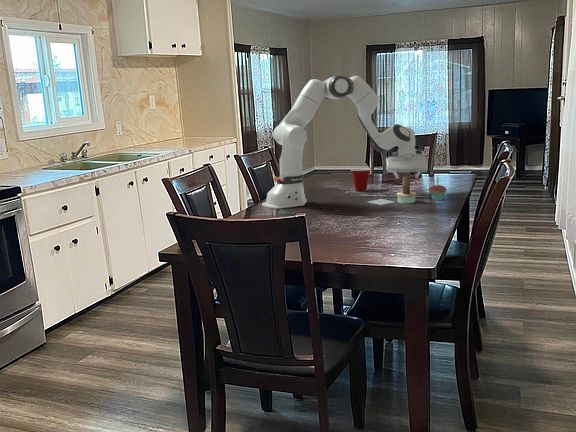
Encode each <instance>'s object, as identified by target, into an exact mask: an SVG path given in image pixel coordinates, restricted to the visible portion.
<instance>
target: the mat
mask: <svg viewBox="0 0 576 432" xmlns="http://www.w3.org/2000/svg"><path fill="white" fill-rule="evenodd" d="M367 203H370V204H375V205H379V206H383V205H387V204H392V203H396V201H394V200H389V199H384V198H378V199H374V200H369V201H367Z"/></svg>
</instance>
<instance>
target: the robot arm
mask: <svg viewBox="0 0 576 432" xmlns="http://www.w3.org/2000/svg"><path fill="white" fill-rule="evenodd" d="M345 97H348V98H349V99H350V100H351V101H352V103H353V104H354V105H355V107H356V108H357V111H358V112H357V117H358V120H359V122H360V123H361V125H362V127H363V129H364V130H365V132H366V134H367V136H368V138H369V139H370V141H371V143H372V146H373V148H374V149H375V151H377V152H378V153H382V154H386V153H388V152H389V151H390V150H392V149H394V148H395V147H398V149H397V155H388V156H387V157H386V158H385V163H386V172H387V173H393V175H394V176H395V179H396V180H398V179H400V176H399V174H398V173H415V175H414V179H419V176H420V174H421V173H426V172H427V171H428V169H429V168H428V161H427V158H426V156H425V151H423V150H419V149H416V148H415V147H416V136H415V131H414V130H413V129H412V128H411V127H408V126H403V125H401V124H399V123H395V124H393V125H391V126H390V127H388V128H387V129H385V130H384V131H382V132H379V130H378V129H377V127H376V125H375V123H374V121H372V115H373V113H374V112H375V110H376V108H377V106H378V102H379V98H378V95H377V94H376V92H375V90H374V89H372V88H371V86H370V85H369V84H368V83H367V82H366V81H365V80H364V79H363V78H362V77H361V76H359V75H353V76H351V77H347V76H343V75H340V74H339V75H334V76H333V75H332V76H330V77H329V78H327V79H325V80H323V81H321V80H320V79H316V78H314V79H313V78H312V79H310V80H309V81H308V82H307V83H306V84H305V86H304V87H303V89H302V90H301V92H300V93H299V95H298V97H297V98H296V100H295V101H294V103H293V106H291V109H290V110H289V111H288V113H287V114H286V115H285V116H284V117H283V119H282V120H281V121H280V122H279V124H278V125H276V126H275V128H274V130H273V131H272V132H273V134H272V135H273V139H274V140H275V142H276V143H277V144H278V145H280V146H281V154H280V157H279V162H278V163H279V176H273V181H276V182H277V183H276V184H275V185H274V186H273V187H272V188H271V189H270V190H269V191H268V192H267V194H266V200H265V202H262V203H261V205H262V206H263V207H264V208H268V209H275V210H278V209H285V208H293V207H294V208H295V207H301V206H305V204H306V203H307V202H308V201H307V199H306V194H305V191H304V190H305V189H304V174H303V153H304V147H305V144H306V142H307V138H308V135H307V134H308V133H307V132H306V130H305V129H304V127H306V126H307V125H308V123H310V122H311V121H312V120H313V118H314V116H315V114H316V112H317V111H318V109H319V107H320V105H321V103H322V102H323V100H324V99H326V100H330V101H333V100H339V99H342V98H345Z"/></svg>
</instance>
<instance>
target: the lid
mask: <svg viewBox="0 0 576 432" xmlns="http://www.w3.org/2000/svg"><path fill="white" fill-rule="evenodd" d="M396 196H397V197H398V196H400V197H413V196H415V197H416V196H417V194H416V192H413V191H411V176H402V191H399V192H396Z"/></svg>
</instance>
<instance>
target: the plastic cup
mask: <svg viewBox="0 0 576 432" xmlns="http://www.w3.org/2000/svg"><path fill="white" fill-rule="evenodd" d="M370 171H371V168H351V169H350V172H351V175H352V180H353V185H354V189H355V191H356V192H366V191H367V188H368V184H369V177H370V176H369V175H370Z"/></svg>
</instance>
